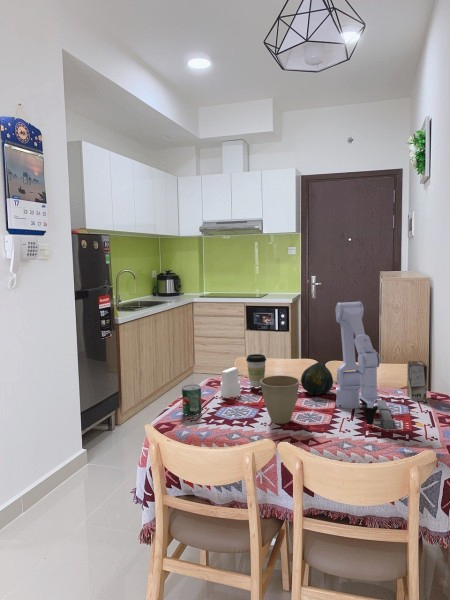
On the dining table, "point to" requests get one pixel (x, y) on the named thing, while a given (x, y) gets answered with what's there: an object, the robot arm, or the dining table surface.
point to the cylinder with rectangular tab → (230, 383)
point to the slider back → (382, 405)
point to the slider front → (386, 419)
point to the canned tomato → (191, 399)
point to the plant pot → (280, 397)
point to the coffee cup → (256, 368)
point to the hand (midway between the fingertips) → (368, 420)
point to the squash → (317, 379)
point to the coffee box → (416, 380)
